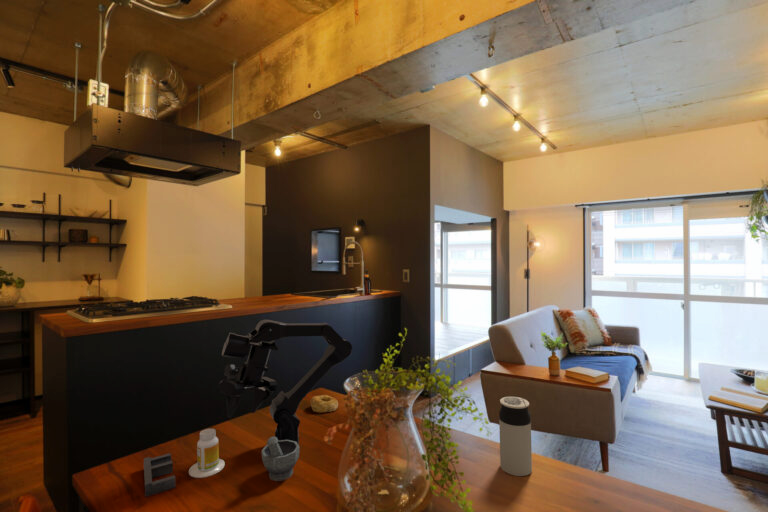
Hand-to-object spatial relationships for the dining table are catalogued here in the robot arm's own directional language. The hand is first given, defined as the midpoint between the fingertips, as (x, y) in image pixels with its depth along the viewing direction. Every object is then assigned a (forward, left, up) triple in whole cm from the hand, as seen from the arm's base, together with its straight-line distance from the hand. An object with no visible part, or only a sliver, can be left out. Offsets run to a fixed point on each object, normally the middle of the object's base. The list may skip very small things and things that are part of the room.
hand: (241, 414), depth 110 cm
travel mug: (-74, +24, -12) cm, 79 cm away
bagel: (-25, -30, -12) cm, 41 cm away
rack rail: (+20, +7, -12) cm, 24 cm away
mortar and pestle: (-12, +13, -12) cm, 22 cm away
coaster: (+8, +5, -12) cm, 15 cm away
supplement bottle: (+8, +5, -12) cm, 15 cm away
